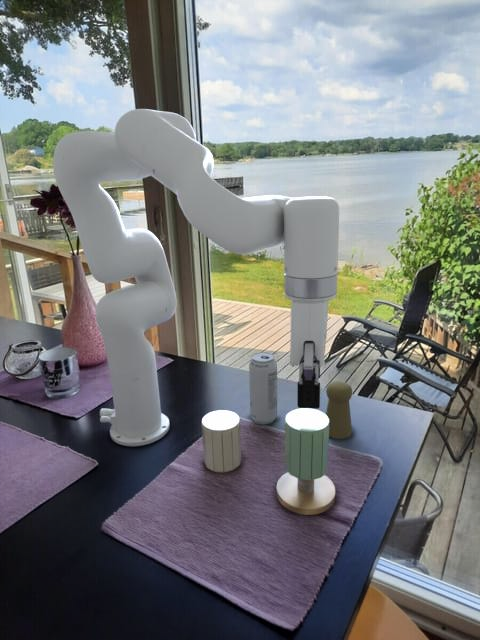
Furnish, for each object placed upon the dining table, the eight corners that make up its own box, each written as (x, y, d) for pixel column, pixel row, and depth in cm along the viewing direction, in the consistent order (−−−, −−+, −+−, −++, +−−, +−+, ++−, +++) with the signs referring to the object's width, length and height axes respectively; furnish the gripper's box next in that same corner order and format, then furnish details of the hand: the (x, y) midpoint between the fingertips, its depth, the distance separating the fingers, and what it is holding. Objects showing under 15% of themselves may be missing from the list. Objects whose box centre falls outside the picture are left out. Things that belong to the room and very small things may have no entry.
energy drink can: (256, 409, 102) (255, 349, 98) (281, 414, 100) (281, 353, 95) (246, 422, 97) (244, 360, 92) (271, 428, 95) (270, 364, 90)
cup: (200, 470, 82) (197, 428, 79) (209, 448, 89) (206, 408, 86) (237, 473, 81) (235, 431, 78) (243, 450, 87) (242, 411, 85)
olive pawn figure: (352, 440, 90) (355, 392, 86) (322, 437, 91) (324, 390, 87) (351, 424, 95) (354, 378, 92) (323, 421, 96) (324, 376, 93)
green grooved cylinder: (283, 478, 71) (283, 429, 68) (286, 451, 78) (286, 406, 75) (327, 481, 70) (329, 432, 67) (327, 455, 76) (328, 409, 73)
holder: (273, 511, 72) (273, 437, 67) (279, 472, 81) (278, 404, 76) (336, 518, 70) (340, 442, 65) (334, 476, 79) (337, 408, 75)
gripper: (288, 272, 72) (289, 367, 78) (279, 302, 56) (280, 419, 62) (335, 272, 71) (332, 369, 76) (339, 302, 55) (335, 422, 60)
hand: (309, 391), depth 69 cm, fingers open, 9 cm apart
